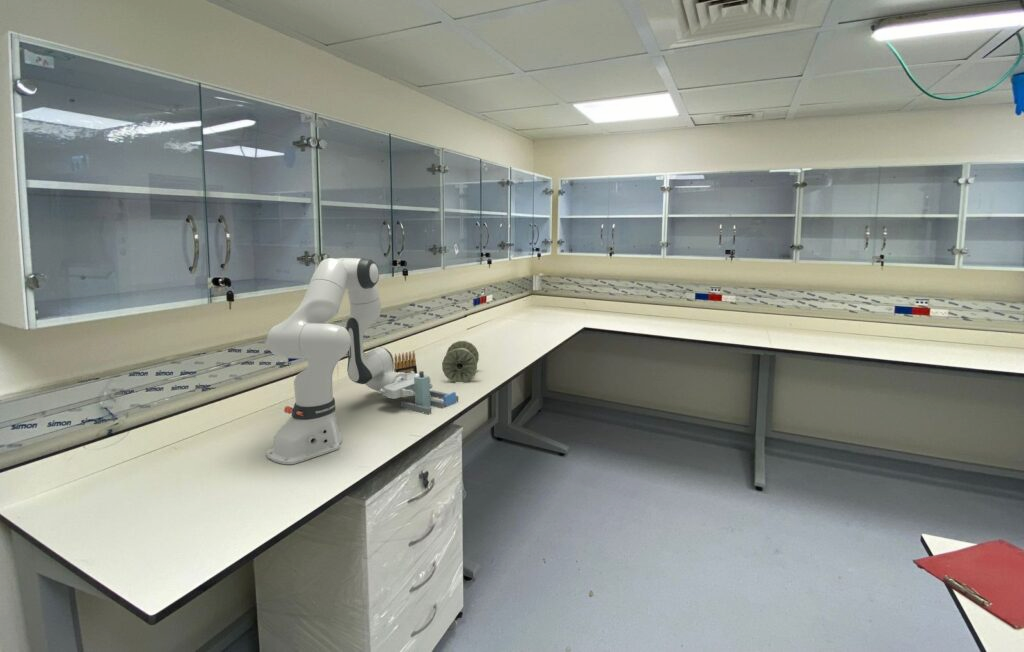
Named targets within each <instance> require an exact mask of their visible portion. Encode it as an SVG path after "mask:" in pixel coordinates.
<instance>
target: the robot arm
mask: <svg viewBox="0 0 1024 652" xmlns="http://www.w3.org/2000/svg"><path fill="white" fill-rule="evenodd" d="M315 268H316V269H315V270H314V272H313V275H312V276H311V279H310V281H309V283H308V286H307V289H306V291H305V294H304V295H303V298H302V301H301V302H300V304H299V305H298V307H297V308H296V309H295V311H294V312H293V313H292V314H291V315H289V316H288V317H287V318H285V319H284V320H283V321H281V322H280V323H277V324H275V325H273V327H271V329H270V330H269V331H268V334H267V338H266V344H267V348H268V350H269V351H270V353H272V355H275V356H277V357H278V356H279V357H281V358H285V359H297V360H298V359H303V360H305V359H306V360H307V367H306V369H304V370H302V371H300V372H299V373H298V374H297V375H296V376H295V378H294V380H293V387H294V388H293V389H294V397H295V400H294V401H295V402H294V404H293V407H291V406H287V405H286V406H285V407H284V409H283V412H285V413H286V414H289V415H290V414H291V417H290V418H289V419H288V420H287V421H286V422H285V423H284V424H283V425H282V426H281V427H280V428H279V429H278V430H277V432H276V433H275V435H274V437H273V438H274V439H273V447H271V448H269V449H267V450H266V451H265V452H266V454H265V455H266V457H267V459H269V460H270V459H271V460H270V461H273V462H275V463H279V464H282V465H295V464H298V463H301V462H305V461H307V460H311V459H313V458H317V457H319V456H322V455H325V454H328V453H329V454H330V453H332V452H335V451H338V450H339V449H340V444H341V443H342V441H343V438H342V435H341V433H340V430H339V427H338V423H337V422H338V421H337V417H336V409H337V408H336V402H335V401H336V400H335V397H334V396H333V393H334V392H333V374H334V370H335V368H336V366H337V364H338V362H340V360H341V359H342V358H343V357H345V356H346V354H347V358H348V359H347V369H346V370H347V371H346V372H347V375H348V377H349V380H351V381H352V382H353V383H356V384H360V385H365V386H366V387H368V389H369V388H370V389H371V390H374V391H377V392H379V393H380V394H382V395H384V396H385V397H386V398H389V399H392V400H393V399H395V400H396V399H399V398H401V397H405V396H411V397H412V396H415V387H414V377H417V376H419V373H418V372H417V373H414V372H413V371H409V372H394V368H395V366H394V363H395V360H394V357H393V355H392V353H391V352H390V351H389V350H388V349H386V348H385V347H383V346H377V347H375V348H374V349H371V350H369V351H368V352H366V353H364V343H363V342H364V341H363V339H364V335H365V333H366V332H367V330H368V329H369V328H370V327H371V325H372V324H373V323H374V322H375V321H377V319H378V318H379V316H380V315H381V313H382V311H381V310H382V303H381V297H380V292H379V288H378V286H377V283H378V281H379V278H380V270H379V266H378V265H377V263H376V262H375V261H374V260H373V259H370V258H366V257H362V258H358V257H357V258H354V257H340V258H333V257H329V258H325V259H323V260H321V261H320V262H319V263H318V264H317V266H316V267H315ZM346 290H347V293H348V300H349V304H350V305H349V306H350V308H349V309H350V310H349V315H348V316H349V317H348V320H347V322H346V326H345V327H344V326H342V325H338V324H333V323H326V322H329V321H330V320H332V319H334V318H335V317H336V316H337V314H338V313H339V310H340V307H341V304H342V300H343V298H344V295H345V291H346ZM424 375H425V376H427V375H426V374H424ZM429 382H430V390H432V389H433V383H432V382H431V377H430V376H429Z"/></svg>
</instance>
